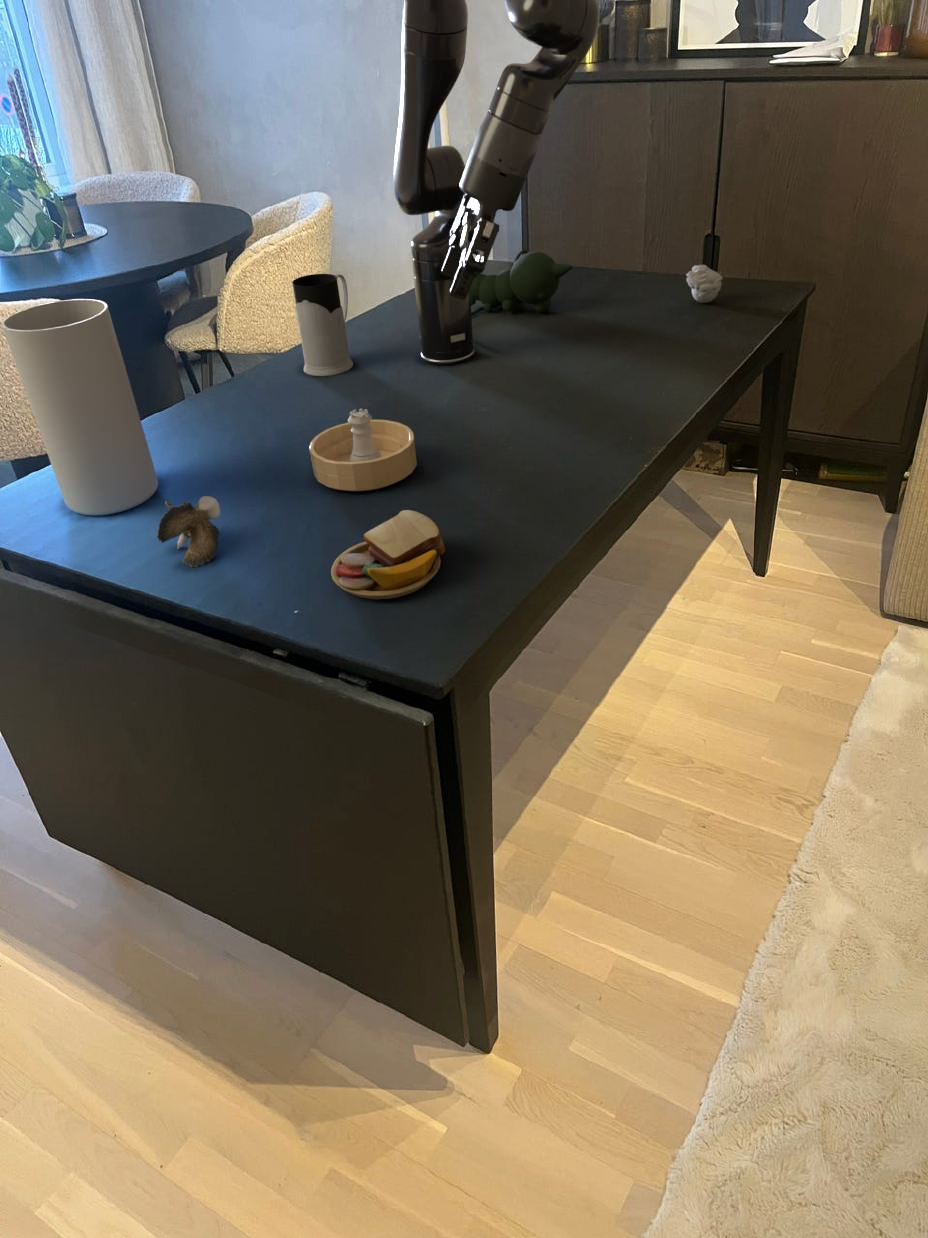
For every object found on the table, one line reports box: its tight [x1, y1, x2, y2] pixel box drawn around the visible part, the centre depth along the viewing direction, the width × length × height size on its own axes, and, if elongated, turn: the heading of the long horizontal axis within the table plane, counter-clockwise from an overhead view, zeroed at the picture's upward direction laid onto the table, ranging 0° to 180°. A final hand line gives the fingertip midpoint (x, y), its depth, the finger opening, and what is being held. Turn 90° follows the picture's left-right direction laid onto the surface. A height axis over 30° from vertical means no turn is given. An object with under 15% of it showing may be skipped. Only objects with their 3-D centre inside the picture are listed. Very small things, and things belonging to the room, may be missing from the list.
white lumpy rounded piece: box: [685, 264, 723, 304], centre depth 178 cm, size 6×7×7 cm
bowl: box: [309, 419, 418, 492], centre depth 129 cm, size 14×14×4 cm
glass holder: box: [291, 273, 354, 377], centre depth 164 cm, size 9×14×15 cm, turn 158°
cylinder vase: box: [1, 298, 159, 516], centre depth 123 cm, size 12×12×25 cm
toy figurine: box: [470, 251, 573, 314], centre depth 180 cm, size 9×19×25 cm
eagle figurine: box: [156, 495, 221, 568], centre depth 115 cm, size 8×7×9 cm
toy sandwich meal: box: [330, 509, 446, 600], centre depth 107 cm, size 12×14×5 cm
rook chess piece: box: [347, 408, 381, 462], centre depth 128 cm, size 4×4×8 cm
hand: (452, 286), depth 125 cm, fingers open, 8 cm apart
